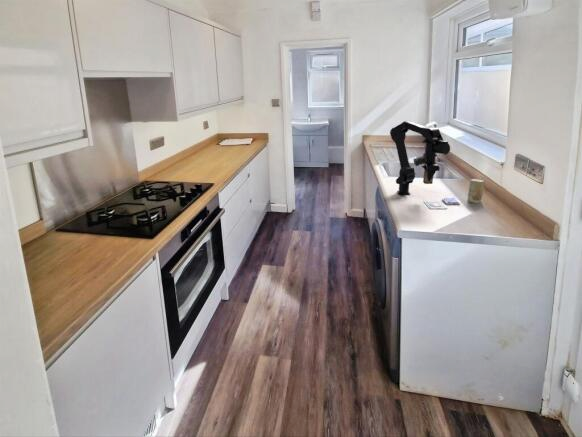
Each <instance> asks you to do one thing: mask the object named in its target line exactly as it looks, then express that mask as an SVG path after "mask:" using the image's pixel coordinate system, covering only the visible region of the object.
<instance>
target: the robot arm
mask: <svg viewBox="0 0 582 437" xmlns="http://www.w3.org/2000/svg"><path fill="white" fill-rule="evenodd" d="M409 131H412V132H414V133H417V134H419V135H421V136H422V138H424V140H423V141H422V143H423V144H425V149H424V153H423V154H422V156H419V157H416V158H415V157H414V158H413V159H412V160H413V164H414V166H415V167H418V166H421V168H423V170H424V171H427V176H428V181H430V180H431V179H432V177H433V178H434V175H435V174H436V172H439V171H440V169H441V167H440V166H439V165H438V164H437V161H436V159H437V158H436V157H438V154H441V155H445V156H446V155H448V154H449V153H450V151H451V145H450V144H449V141H448V140H444V138H443V136H442V134H441V132H440V131H441V130H440V129H439V128H438V127H429V126H424V125H421V124H419V123H416V122H413V121H411V120H405V121H402V122H401V123H399V124H398V125H396V126H395V127H392V128H391V129H390V131H389V134H390V138H391V140H392V141H393V143H395V146H396V147H395V148H396V152H397V156H398V160H399V161H398V162H399V166H400V169H399V176H398V177H397V178H396V179H395V183H396V184H397V185H398V190H397V191H396V192H397V194H398V195H406V196H407V195H409V196H410V195H411V193H410V184H413V182H414V180H415V178H416V172H415V168H414V167H411V166H410V162H409V157H408V152H407V148H406V143H405V141H406V140H405V139H406V137H407V136H406V133H407V132H409ZM424 171H423V172H424Z"/></svg>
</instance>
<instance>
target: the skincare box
mask: <svg viewBox="0 0 582 437" xmlns="http://www.w3.org/2000/svg"><path fill="white" fill-rule="evenodd" d="M484 187H485V180H483V179H477V178H472V179H470V182H469V187H468V194H467V202H470V203H474V204H480V203H482V198H483V192H484ZM479 202H480V203H479Z"/></svg>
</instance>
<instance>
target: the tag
mask: <svg viewBox="0 0 582 437" xmlns="http://www.w3.org/2000/svg"><path fill="white" fill-rule="evenodd" d="M423 203H424V205H426V207H427V208H428V209H429V210H448V207H446V205H444V204H443V202H441V201H423Z"/></svg>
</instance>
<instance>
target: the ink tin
mask: <svg viewBox="0 0 582 437" xmlns="http://www.w3.org/2000/svg"><path fill="white" fill-rule="evenodd" d="M441 201H442V203H444V204H445V206H446V205H447V206H451V205H452V206H457V205H458V206H459V205H461V202H460V201H459V200H458V199H456V198H455V197H442V198H441Z"/></svg>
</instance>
